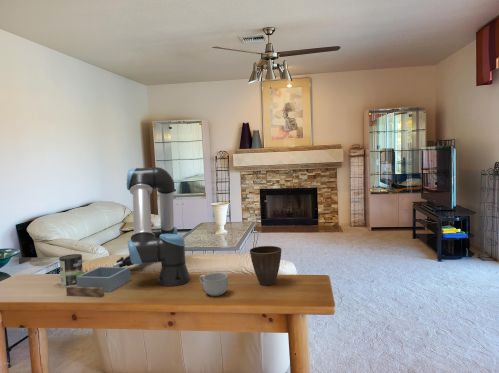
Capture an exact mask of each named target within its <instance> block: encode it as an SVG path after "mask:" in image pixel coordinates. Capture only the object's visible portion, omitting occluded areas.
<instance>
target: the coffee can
mask: <svg viewBox="0 0 499 373" xmlns="http://www.w3.org/2000/svg"><path fill="white" fill-rule="evenodd" d="M58 260H59V269H60V270H59V271H60V283H61V284H60V286H61V287H63V288H66V287H68V286H72V287H77V280H76V277H77V276H80V275H82V274H84V272H83V270H84V269H83V254H80V253H72V254H64V255H61V256H59V258H58Z"/></svg>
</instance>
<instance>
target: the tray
mask: <svg viewBox="0 0 499 373" xmlns="http://www.w3.org/2000/svg"><path fill="white" fill-rule="evenodd" d="M76 280H77V285H76V287H99V288H104V293H112V292H113V291H114V290H116V289H118V288H119V287H122V286H123V285H125V284H127V283H129V282H130V281H131V267H130V266H125V267H124V266H123V267H113V266H98V267H96V268H93V269H90V270H89V271H87V272H83V274H82V275H80V276H77V277H76ZM126 282H127V283H126Z"/></svg>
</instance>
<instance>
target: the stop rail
mask: <svg viewBox="0 0 499 373" xmlns="http://www.w3.org/2000/svg"><path fill="white" fill-rule="evenodd" d="M65 289H66V296H69V297H87V298H88V297H89V298H103V297H104V296H105V292H104V288H99V287H77V286H68V287H65Z"/></svg>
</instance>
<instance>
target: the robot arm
mask: <svg viewBox="0 0 499 373" xmlns="http://www.w3.org/2000/svg"><path fill="white" fill-rule="evenodd" d="M175 186H176V185H175V181H174V180H173V177H172V176H171V174H170V173H169V172H168V171H167V170H166V169H164V168H163V167H157V166H155V167H140V168H139V167H134V168H130V169H129V170H128V171H127V176H126V189H127V191H129V192H130V194H131V195H132V204H133V205H132V206H133V207H132V210H133V212H132V213H133V214H132V215H133V216H132V217H133V234H132V235H131V236H130V239H129V240H127V248H128V252H129V255H128V256H125V257H123V256H121V257H120V258H119V259H118V260H116V263H115V264H112V267H131V266H133V265H144V264H152V263H153V264H154V263H161V268H160V272H159V274H158V275H159V276H158V284H159V285H160V286H165V287H174V286H181V285H185V284H186V283H189V282H190V281H191V276H190V273H189V270H188V268H187V265H186V250H185V247H186V244H185V238H184V236H182V234H181V235H180V234H178V228H177V227H176V226H175V224H174V223H175V221H174V193H175ZM154 189H155V190H157V193H159V194H158V195H159V213H160V214H159V216H160V227H159V228H153V225H152V212H151V211H152V209H151V194H152V192H153V190H154Z"/></svg>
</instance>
